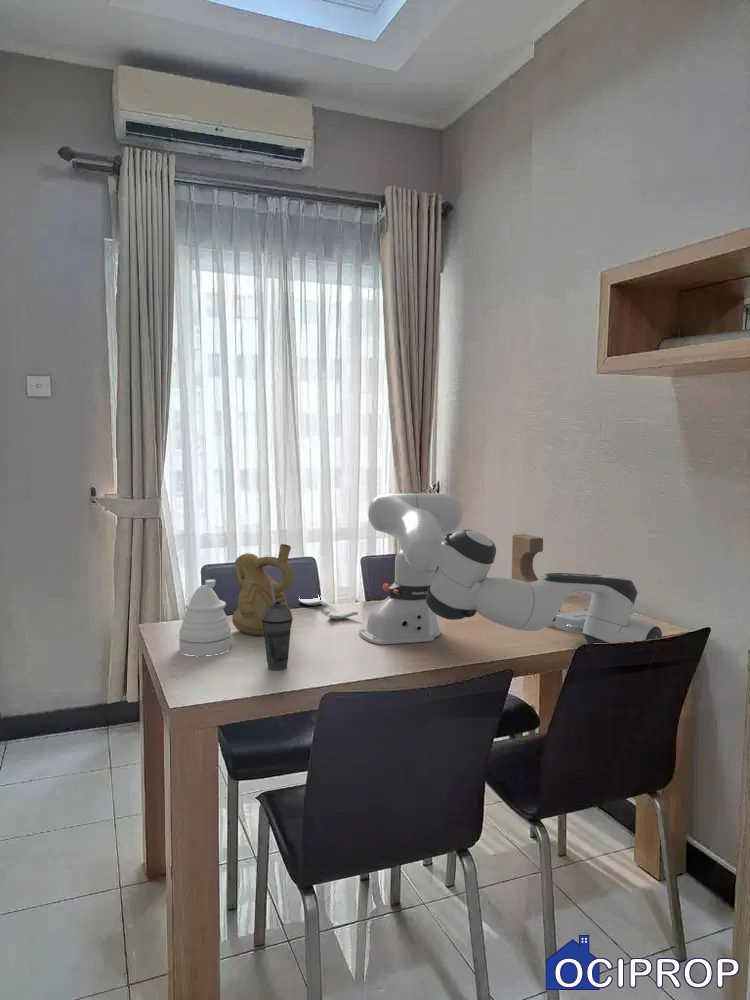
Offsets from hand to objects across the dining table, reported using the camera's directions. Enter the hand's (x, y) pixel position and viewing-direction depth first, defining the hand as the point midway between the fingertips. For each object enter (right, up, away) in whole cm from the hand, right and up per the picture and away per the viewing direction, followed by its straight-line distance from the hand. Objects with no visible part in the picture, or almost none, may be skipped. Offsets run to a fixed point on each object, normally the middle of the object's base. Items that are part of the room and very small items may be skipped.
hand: (572, 612), depth 191 cm
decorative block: (-1, -1, +52) cm, 52 cm away
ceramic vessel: (-86, -5, +2) cm, 86 cm away
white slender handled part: (-71, -4, +25) cm, 75 cm away
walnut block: (-4, +5, +9) cm, 11 cm away
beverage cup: (-78, -8, -29) cm, 83 cm away
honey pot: (-98, -7, -15) cm, 100 cm away
